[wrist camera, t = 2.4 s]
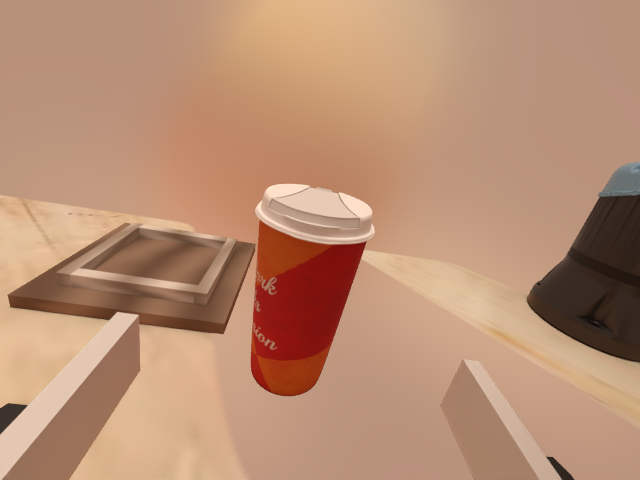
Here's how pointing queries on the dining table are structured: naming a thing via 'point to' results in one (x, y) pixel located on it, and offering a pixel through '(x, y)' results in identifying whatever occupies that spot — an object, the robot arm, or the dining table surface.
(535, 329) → the dining table surface
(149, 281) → the walnut board
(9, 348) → the dining table surface
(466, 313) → the dining table surface
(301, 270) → the coffee cup
